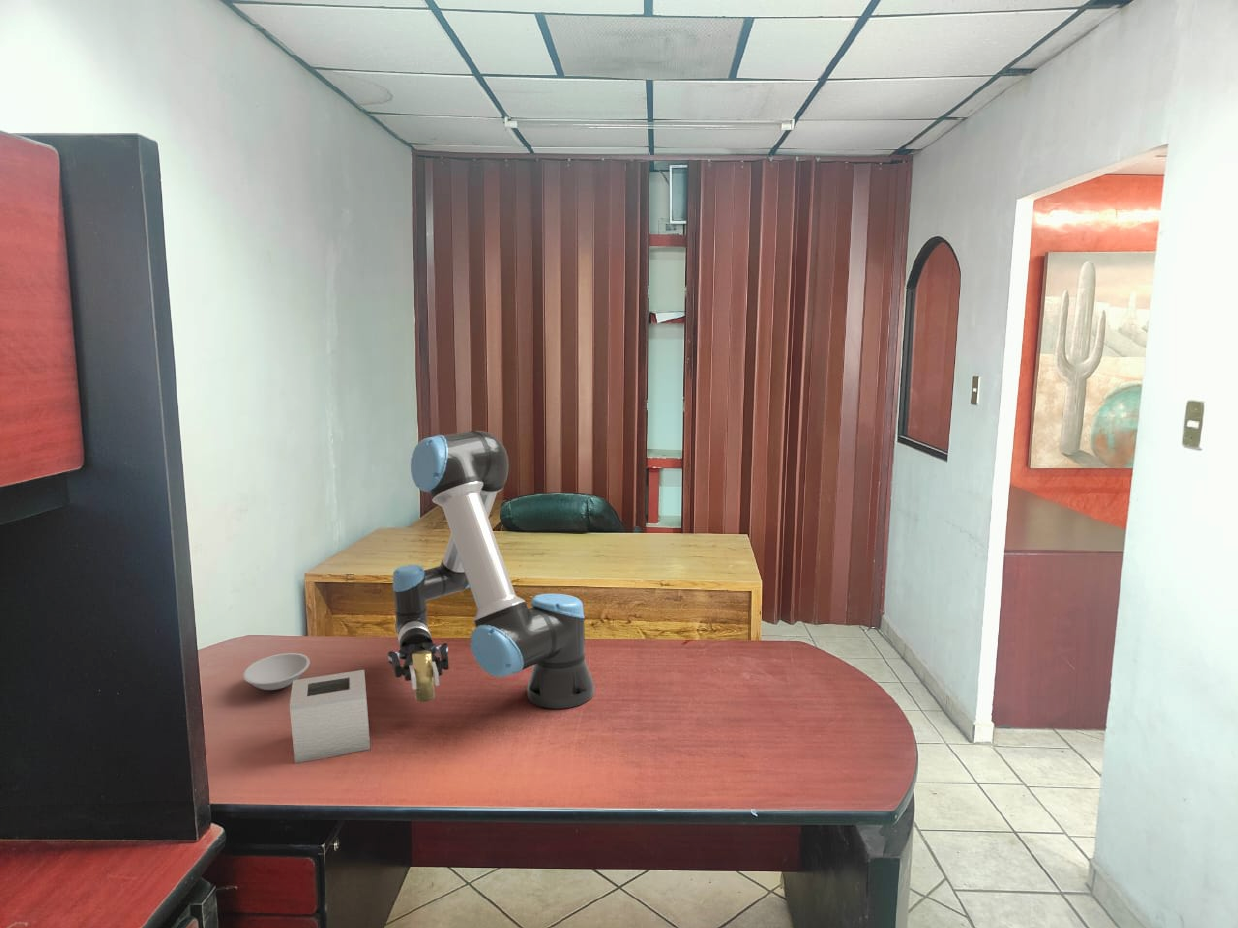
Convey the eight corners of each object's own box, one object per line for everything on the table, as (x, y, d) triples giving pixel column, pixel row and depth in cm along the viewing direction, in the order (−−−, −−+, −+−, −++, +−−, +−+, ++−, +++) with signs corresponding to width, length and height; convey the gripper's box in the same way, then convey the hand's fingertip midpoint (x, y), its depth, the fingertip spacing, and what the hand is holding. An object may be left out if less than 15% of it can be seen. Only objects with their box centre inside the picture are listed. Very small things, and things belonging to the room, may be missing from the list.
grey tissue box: (368, 722, 168) (364, 669, 166) (370, 749, 157) (366, 693, 155) (298, 734, 163) (293, 680, 161) (295, 763, 152) (289, 705, 150)
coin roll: (437, 693, 171) (434, 650, 169) (431, 702, 167) (427, 657, 165) (419, 693, 171) (416, 650, 169) (412, 701, 167) (409, 657, 165)
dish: (257, 674, 193) (255, 655, 193) (317, 669, 196) (316, 650, 195) (235, 707, 176) (233, 686, 175) (302, 700, 179) (300, 680, 178)
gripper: (453, 651, 188) (467, 691, 166) (379, 663, 182) (384, 705, 161) (451, 622, 187) (465, 657, 165) (376, 632, 181) (381, 670, 159)
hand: (425, 681), depth 163 cm, fingers closed on coin roll, 4 cm apart
